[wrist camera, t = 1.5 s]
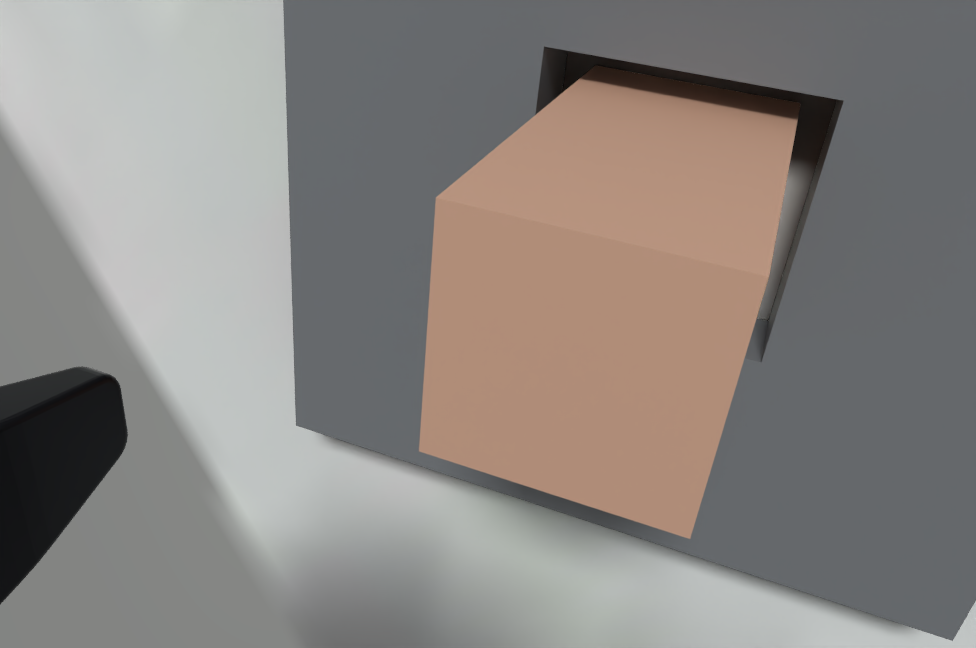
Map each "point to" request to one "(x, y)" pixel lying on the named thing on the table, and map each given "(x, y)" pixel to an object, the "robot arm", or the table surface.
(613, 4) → the pocket plate
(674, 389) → the tan rectangular block
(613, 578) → the table surface
